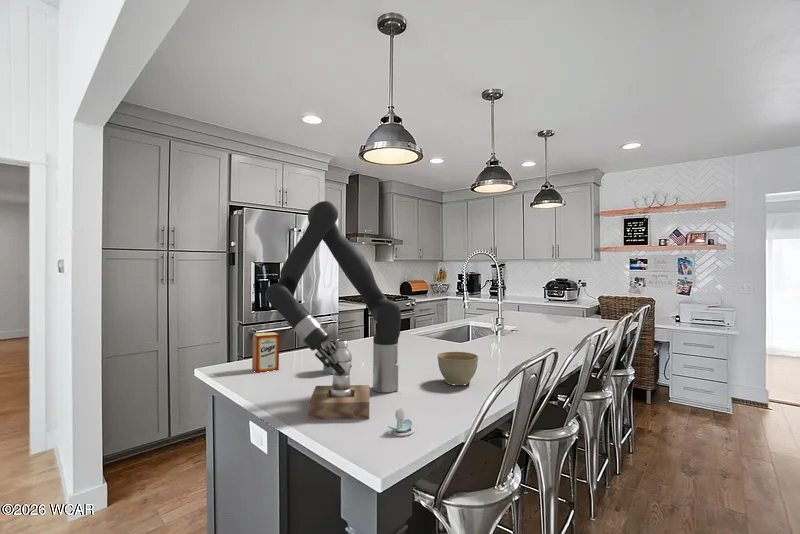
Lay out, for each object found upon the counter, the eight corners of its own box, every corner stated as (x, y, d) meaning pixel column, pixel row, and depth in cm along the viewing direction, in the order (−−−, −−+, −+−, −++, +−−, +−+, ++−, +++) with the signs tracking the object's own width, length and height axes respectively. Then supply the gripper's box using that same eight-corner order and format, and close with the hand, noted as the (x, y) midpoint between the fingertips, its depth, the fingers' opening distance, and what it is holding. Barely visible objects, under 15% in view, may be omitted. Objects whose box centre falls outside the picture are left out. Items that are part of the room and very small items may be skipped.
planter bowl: (476, 377, 163) (476, 351, 163) (480, 389, 147) (480, 360, 147) (437, 376, 164) (437, 350, 164) (436, 388, 148) (437, 359, 148)
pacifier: (419, 433, 108) (404, 425, 113) (420, 410, 108) (405, 404, 113) (399, 440, 103) (384, 432, 108) (400, 417, 103) (385, 410, 108)
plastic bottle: (341, 398, 130) (342, 337, 130) (355, 402, 125) (356, 340, 125) (326, 403, 125) (326, 340, 125) (340, 408, 120) (341, 343, 120)
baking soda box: (274, 366, 176) (274, 331, 176) (278, 370, 171) (279, 333, 171) (252, 369, 171) (252, 333, 171) (256, 373, 165) (256, 335, 166)
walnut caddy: (369, 399, 134) (369, 385, 134) (369, 418, 117) (369, 402, 117) (315, 400, 133) (316, 385, 133) (308, 419, 116) (308, 403, 116)
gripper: (310, 328, 119) (347, 369, 117) (327, 321, 133) (361, 358, 131) (294, 344, 120) (330, 385, 118) (312, 336, 134) (345, 373, 132)
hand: (346, 371), depth 125 cm, fingers closed on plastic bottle, 6 cm apart
